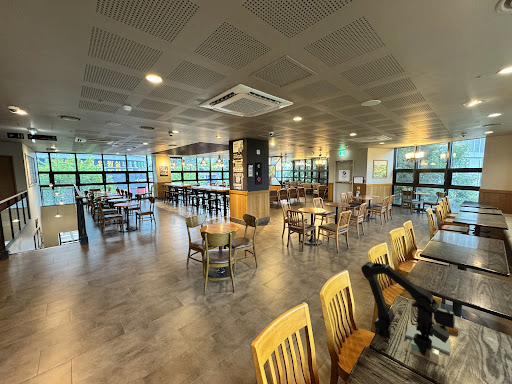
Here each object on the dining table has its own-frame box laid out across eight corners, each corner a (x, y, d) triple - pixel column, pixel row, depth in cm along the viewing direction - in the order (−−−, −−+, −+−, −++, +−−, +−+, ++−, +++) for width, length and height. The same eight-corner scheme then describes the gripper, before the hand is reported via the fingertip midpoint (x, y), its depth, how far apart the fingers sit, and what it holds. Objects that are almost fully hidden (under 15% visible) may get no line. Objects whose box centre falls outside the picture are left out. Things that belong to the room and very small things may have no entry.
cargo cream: (429, 357, 96) (429, 351, 96) (430, 353, 98) (430, 347, 98) (438, 361, 94) (438, 354, 94) (439, 356, 96) (439, 350, 96)
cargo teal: (411, 349, 101) (411, 343, 101) (412, 345, 103) (412, 339, 103) (419, 352, 99) (419, 346, 99) (419, 348, 101) (419, 342, 101)
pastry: (458, 330, 113) (458, 324, 113) (458, 338, 108) (458, 331, 108) (435, 323, 120) (435, 316, 119) (434, 329, 115) (434, 323, 114)
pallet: (405, 353, 101) (405, 340, 101) (408, 344, 106) (407, 331, 106) (444, 371, 91) (444, 356, 91) (445, 360, 96) (445, 346, 96)
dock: (405, 339, 109) (405, 334, 109) (408, 328, 116) (408, 324, 116) (449, 357, 97) (449, 352, 97) (450, 344, 104) (450, 339, 104)
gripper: (446, 337, 86) (446, 373, 87) (448, 315, 99) (448, 346, 100) (413, 325, 93) (413, 358, 94) (419, 305, 107) (419, 334, 108)
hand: (424, 349), depth 99 cm, fingers open, 9 cm apart
